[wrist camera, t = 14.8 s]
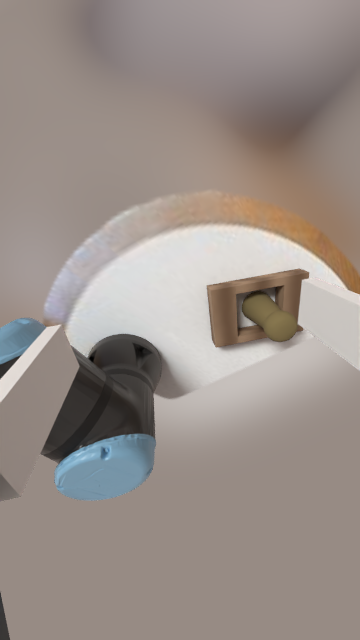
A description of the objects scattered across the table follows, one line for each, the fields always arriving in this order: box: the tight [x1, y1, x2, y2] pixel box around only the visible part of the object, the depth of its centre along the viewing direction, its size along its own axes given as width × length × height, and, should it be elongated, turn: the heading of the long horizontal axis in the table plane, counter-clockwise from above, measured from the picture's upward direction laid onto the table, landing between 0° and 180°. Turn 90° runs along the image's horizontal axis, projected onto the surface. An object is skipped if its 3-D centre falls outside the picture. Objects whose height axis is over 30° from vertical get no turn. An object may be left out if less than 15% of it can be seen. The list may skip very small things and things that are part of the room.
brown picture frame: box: [207, 269, 309, 347], centre depth 44 cm, size 18×12×3 cm, turn 99°
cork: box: [242, 291, 298, 342], centre depth 40 cm, size 6×6×11 cm
